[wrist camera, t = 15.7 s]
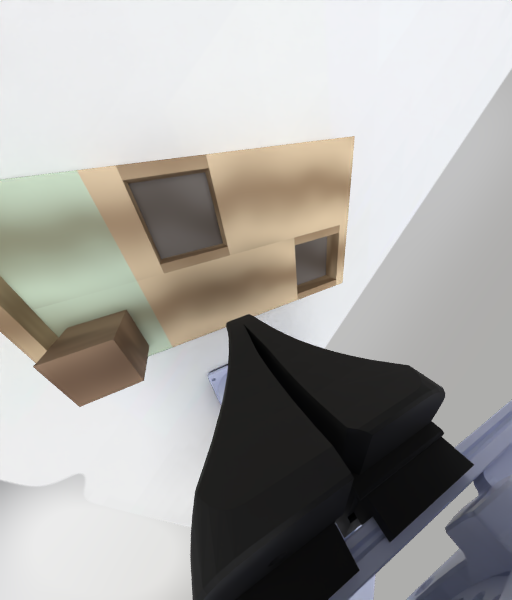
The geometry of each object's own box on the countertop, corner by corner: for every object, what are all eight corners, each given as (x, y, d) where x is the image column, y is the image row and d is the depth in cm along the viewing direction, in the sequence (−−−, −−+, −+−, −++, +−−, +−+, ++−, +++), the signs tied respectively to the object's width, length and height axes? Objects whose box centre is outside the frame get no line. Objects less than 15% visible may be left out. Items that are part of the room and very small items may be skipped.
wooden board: (330, 277, 24) (352, 287, 21) (90, 365, 17) (74, 396, 14) (337, 143, 17) (370, 129, 14) (-65, 195, 10) (-159, 191, 7)
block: (149, 346, 16) (143, 380, 13) (99, 364, 15) (79, 406, 12) (126, 309, 14) (113, 339, 11) (67, 327, 13) (32, 366, 10)
